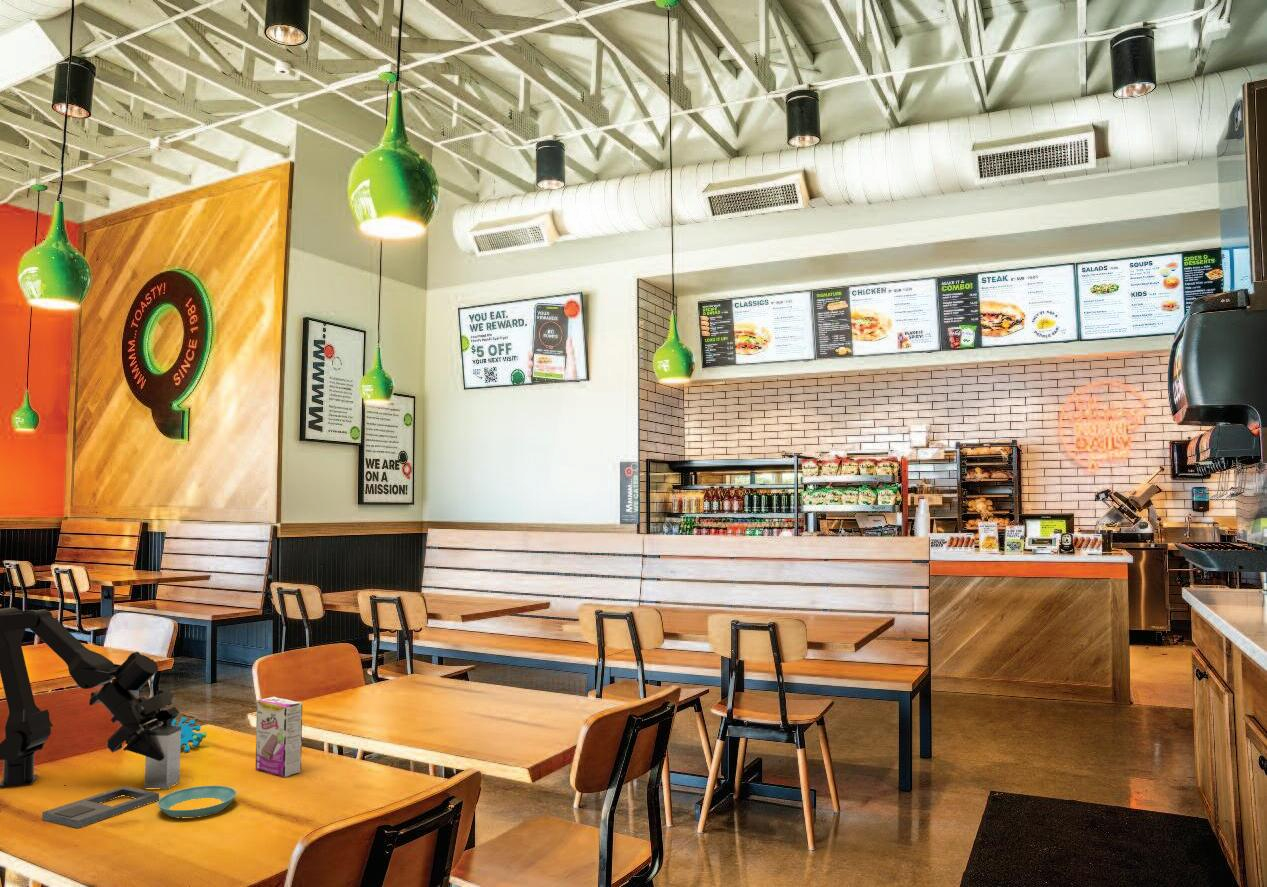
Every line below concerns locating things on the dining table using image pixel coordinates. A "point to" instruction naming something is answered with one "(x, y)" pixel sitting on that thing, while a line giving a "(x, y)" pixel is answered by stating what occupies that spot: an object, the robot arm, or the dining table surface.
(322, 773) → the dining table surface
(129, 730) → the robot arm
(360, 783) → the dining table surface
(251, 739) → the dining table surface
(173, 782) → the grey tall block
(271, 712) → the candy bar box
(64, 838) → the dining table surface
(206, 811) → the saucer
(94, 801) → the grey slotted plate
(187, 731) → the gear
